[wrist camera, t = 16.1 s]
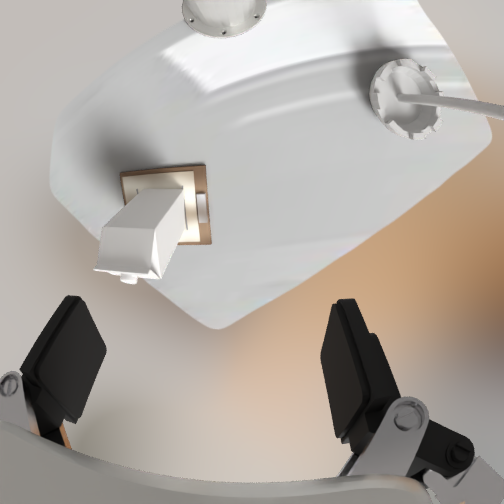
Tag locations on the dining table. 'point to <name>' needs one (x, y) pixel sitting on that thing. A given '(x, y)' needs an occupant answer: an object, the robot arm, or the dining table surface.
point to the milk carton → (143, 235)
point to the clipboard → (194, 196)
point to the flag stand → (416, 100)
